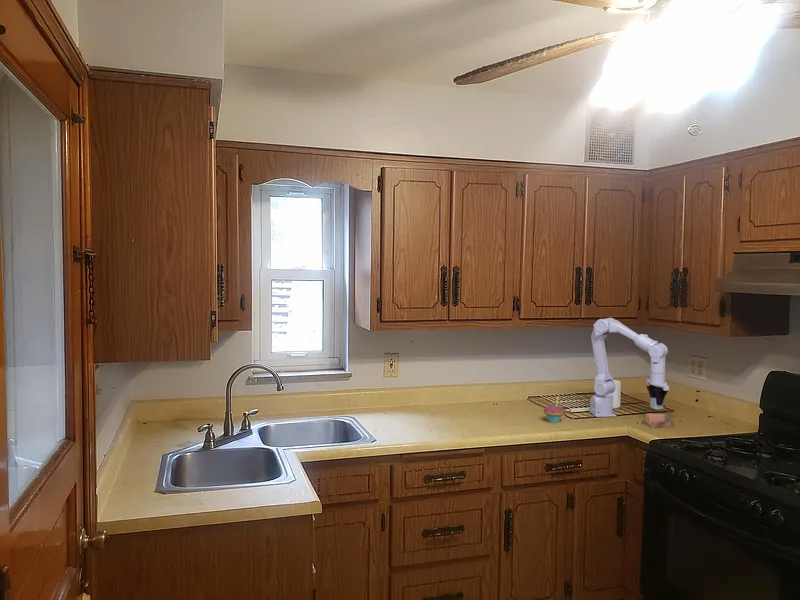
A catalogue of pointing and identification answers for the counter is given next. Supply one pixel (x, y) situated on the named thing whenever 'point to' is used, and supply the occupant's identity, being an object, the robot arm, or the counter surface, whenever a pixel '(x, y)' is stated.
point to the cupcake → (554, 412)
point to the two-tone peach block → (656, 417)
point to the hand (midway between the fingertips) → (656, 403)
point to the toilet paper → (617, 394)
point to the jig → (658, 424)
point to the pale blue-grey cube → (655, 404)
